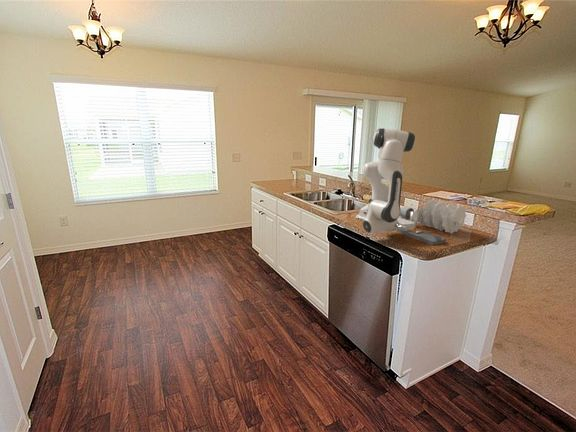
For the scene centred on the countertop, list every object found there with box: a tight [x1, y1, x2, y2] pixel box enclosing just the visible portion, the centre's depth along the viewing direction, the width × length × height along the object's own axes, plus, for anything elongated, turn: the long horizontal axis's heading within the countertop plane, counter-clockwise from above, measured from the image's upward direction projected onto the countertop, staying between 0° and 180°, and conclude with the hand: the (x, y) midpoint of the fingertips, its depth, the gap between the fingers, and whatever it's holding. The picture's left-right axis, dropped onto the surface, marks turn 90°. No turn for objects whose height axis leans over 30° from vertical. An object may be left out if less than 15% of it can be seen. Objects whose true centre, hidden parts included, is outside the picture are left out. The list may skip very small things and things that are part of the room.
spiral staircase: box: [415, 199, 467, 235], centre depth 177 cm, size 18×18×25 cm
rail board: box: [396, 228, 447, 246], centre depth 166 cm, size 25×10×2 cm, turn 24°
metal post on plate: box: [409, 210, 424, 233], centre depth 169 cm, size 11×5×11 cm, turn 24°
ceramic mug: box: [399, 206, 415, 220], centre depth 204 cm, size 11×8×8 cm
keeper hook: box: [433, 234, 443, 241], centre depth 156 cm, size 3×3×2 cm
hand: (408, 220), depth 168 cm, fingers open, 8 cm apart
